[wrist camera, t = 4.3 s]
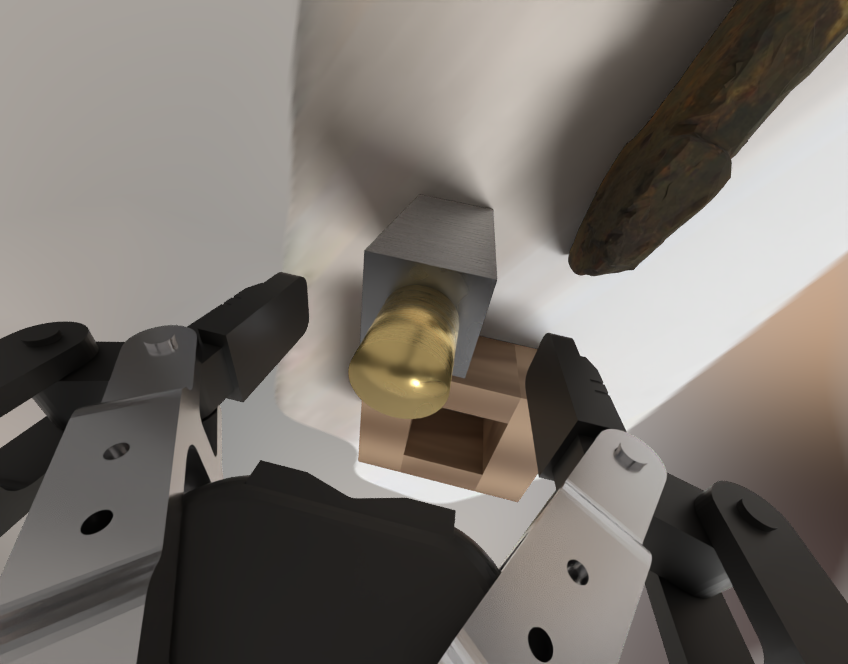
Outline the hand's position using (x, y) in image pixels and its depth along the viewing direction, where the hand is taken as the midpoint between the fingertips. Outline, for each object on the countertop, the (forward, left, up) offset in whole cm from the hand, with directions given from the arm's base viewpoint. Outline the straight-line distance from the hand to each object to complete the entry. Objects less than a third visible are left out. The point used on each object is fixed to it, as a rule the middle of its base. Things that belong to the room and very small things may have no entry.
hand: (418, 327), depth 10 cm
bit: (0, 0, -9) cm, 9 cm away
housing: (+11, +3, -9) cm, 14 cm away
